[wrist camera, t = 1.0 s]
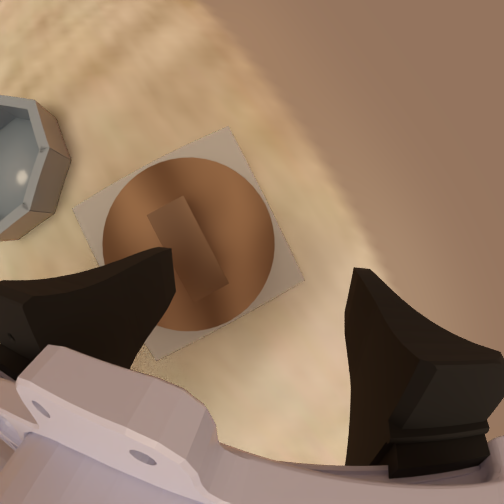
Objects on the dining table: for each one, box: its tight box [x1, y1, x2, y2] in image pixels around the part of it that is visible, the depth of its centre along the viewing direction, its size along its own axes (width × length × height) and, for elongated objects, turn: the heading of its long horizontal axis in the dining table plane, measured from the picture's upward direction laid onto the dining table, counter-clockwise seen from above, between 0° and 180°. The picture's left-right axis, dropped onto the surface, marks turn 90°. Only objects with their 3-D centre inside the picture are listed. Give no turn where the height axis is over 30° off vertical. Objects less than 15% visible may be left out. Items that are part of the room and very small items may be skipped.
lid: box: [102, 157, 275, 331], centre depth 20 cm, size 13×13×5 cm
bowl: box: [0, 95, 71, 241], centre depth 17 cm, size 11×11×4 cm
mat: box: [72, 126, 305, 361], centre depth 23 cm, size 14×14×1 cm
